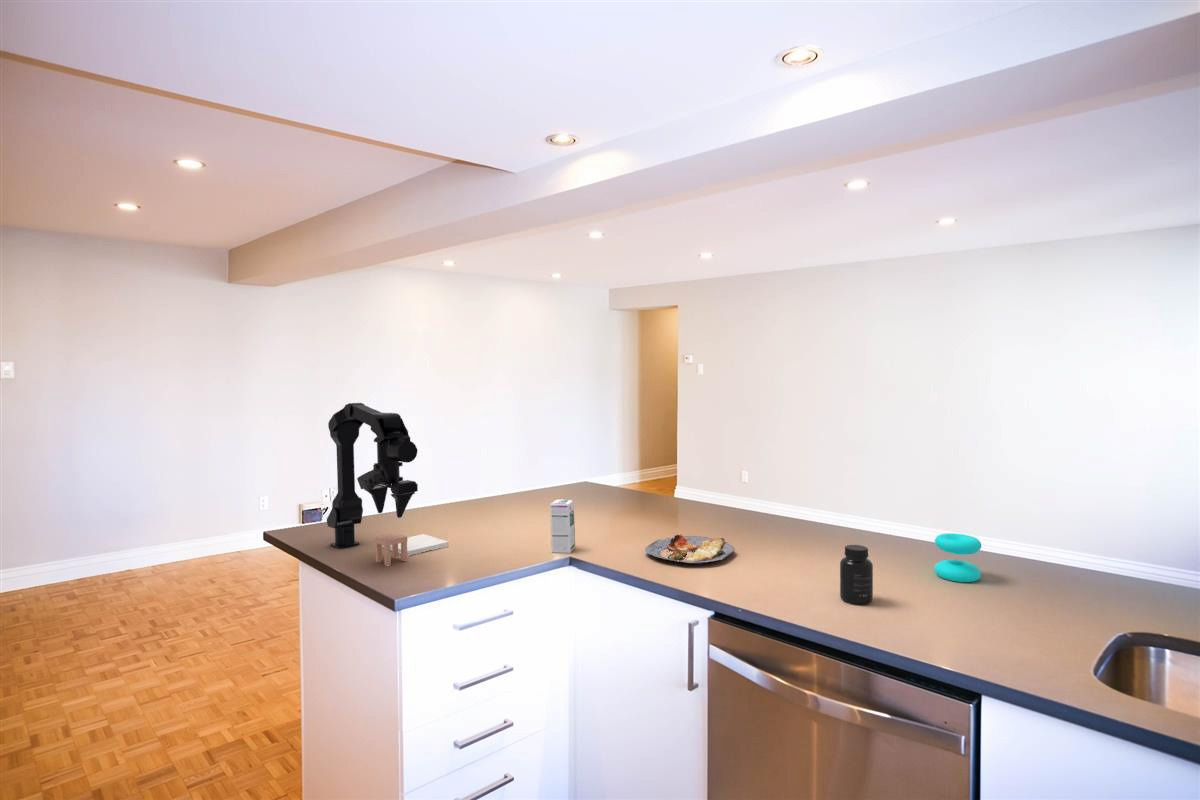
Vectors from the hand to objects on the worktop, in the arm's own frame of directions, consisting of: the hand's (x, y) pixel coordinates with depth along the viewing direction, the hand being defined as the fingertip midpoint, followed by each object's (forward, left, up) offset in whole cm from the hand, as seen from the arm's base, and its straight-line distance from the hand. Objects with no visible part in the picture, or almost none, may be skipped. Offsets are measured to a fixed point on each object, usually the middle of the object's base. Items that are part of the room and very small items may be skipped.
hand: (389, 515), depth 176 cm
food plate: (+58, +60, -14) cm, 85 cm away
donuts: (+119, +87, -13) cm, 148 cm away
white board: (-8, +12, -13) cm, 20 cm away
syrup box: (+28, +39, -13) cm, 50 cm away
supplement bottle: (+107, +55, -13) cm, 121 cm away
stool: (0, 0, -13) cm, 13 cm away
